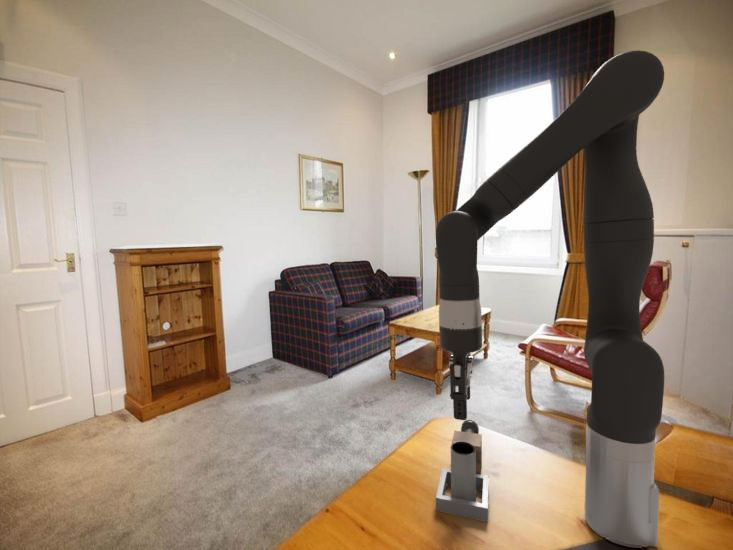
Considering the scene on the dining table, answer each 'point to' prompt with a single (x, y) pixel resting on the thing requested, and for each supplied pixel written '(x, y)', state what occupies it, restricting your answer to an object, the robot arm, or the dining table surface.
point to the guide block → (475, 441)
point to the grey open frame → (460, 505)
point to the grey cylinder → (463, 471)
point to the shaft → (470, 427)
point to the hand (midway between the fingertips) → (462, 408)
